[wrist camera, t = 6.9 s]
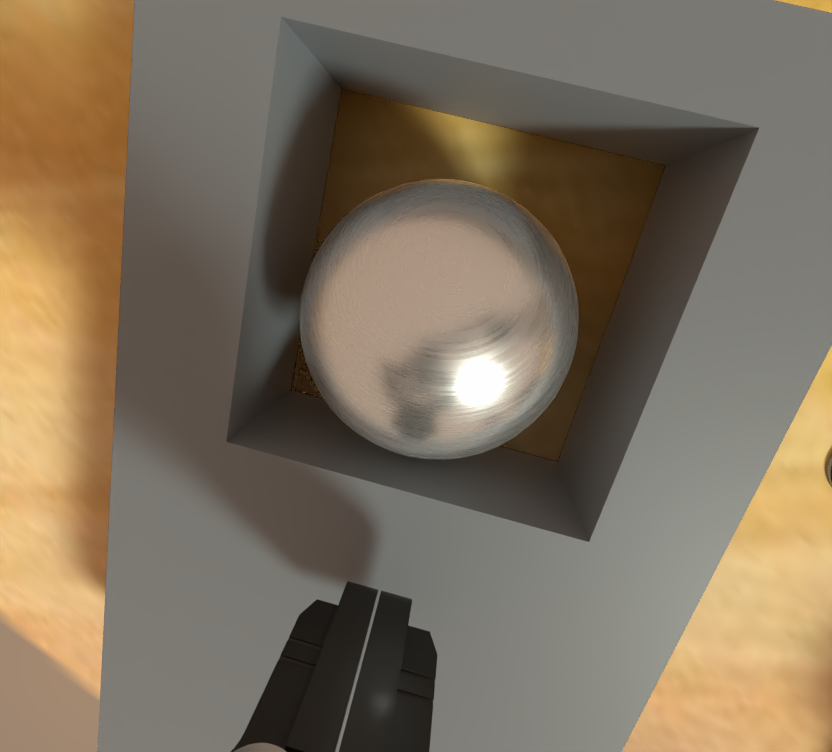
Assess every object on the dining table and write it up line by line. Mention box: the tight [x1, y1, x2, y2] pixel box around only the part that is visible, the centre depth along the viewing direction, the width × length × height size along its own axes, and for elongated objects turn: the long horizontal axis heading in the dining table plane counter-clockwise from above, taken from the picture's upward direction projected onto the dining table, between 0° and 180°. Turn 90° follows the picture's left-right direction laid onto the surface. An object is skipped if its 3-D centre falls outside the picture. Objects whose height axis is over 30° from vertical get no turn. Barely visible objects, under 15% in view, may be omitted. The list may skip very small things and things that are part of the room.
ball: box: [300, 179, 579, 460], centre depth 10 cm, size 6×6×6 cm
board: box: [98, 0, 832, 752], centre depth 13 cm, size 22×14×4 cm, turn 167°
